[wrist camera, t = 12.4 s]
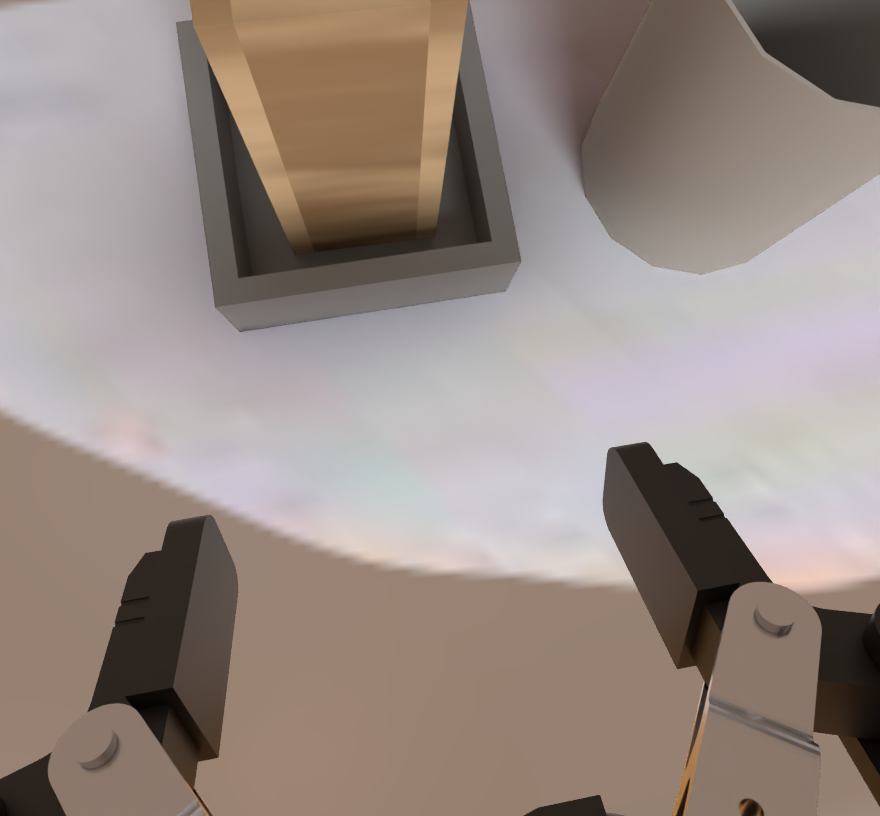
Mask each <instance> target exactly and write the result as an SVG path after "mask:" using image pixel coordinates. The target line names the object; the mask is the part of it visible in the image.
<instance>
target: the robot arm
mask: <svg viewBox="0 0 880 816" xmlns="http://www.w3.org/2000/svg"><path fill="white" fill-rule="evenodd" d="M603 511H604V516H605V520H606V523H607V526H608V529H609V531H610V533H611V535H612V537H613V539H614V541H615V543H616V545H617V547H618V549H619V551H620V553H621V555H622V558H623V560H624V562H625V564H626V566H627V568H628V570H629V572H630V574H631V576H632V578H633V580H634V582H635V584H636V586H637V588H638V590H639V592H640V594H641V596H642V598H643V600H644V602H645V605H646V606H647V609H648V610H649V613H650V614H651V616H652V619H653V621H654V623H655V625H656V627H657V629H658V631H659V633H660V635H661V637H662V639H663V641H664V643H665V645H666V647H667V649H668V651H669V654H670V656H671V658H672V660H673V662H674V664H675V666H676V668H677V669H680V668H686V667H691V666H697V667H698V669H699V671H700V673H701V675H702V677H703V679H704V684H703V687H702V691H701V695H700V700H699V704H698V708H697V713H696V717H695V722H694V726H693V731H692V735H691V739H690V743H689V748H688V752H687V757H686V761H685V765H684V770H683V774H682V779H681V782H680V786H679V790H678V794H677V797H676V801H675V805H674V809H673V813H672V816H817V806H818V792H819V779H820V764H821V755H820V748H819V745H818V744H816V743H814V741H813V732H818V733H825V734H832V735H838V736H839V738H840V740H841V741H842V743H843V745H844V746H845V748H846V749H847V752H848V753H849V755H850V757H851V758H852V760H853V762H854V764H855V765H856V767H857V769H858V770H859V772H860V774H861V776H862V777H863V779H864V781H865V782H866V784H867V786H868V787H869V789H870V791H871V793H872V794H873V796H874V798H875V799H876V801H877V803H878V805H879V806H880V604H879V605H878V607H877V608H876V610H875V612H874V613H873V614H864V613H856V612H855V613H854V612H846V611H837V610H828V609H821V608H817V607H813V606H811V605H810V604H809V603H808V602H807V601H806V600H805V599H804V598H803V597H801V596H800V595H799V594H797V593H796V592H794V591H792V590H790V589H788V588H786V587H783V586H781V585H778V584H774V583H773V582H772V581H771V580H770V579H769V577H768V576H767V575H766V573H765V572H764V570H763V569H762V567H761V566H760V565H759V563H758V562H757V560H756V559H755V557H754V556H753V555H752V553H751V552H750V550H749V549H748V548H747V546H746V545H745V543H744V542H743V540H742V539H741V538H740V536H739V535H738V533H737V532H736V530H735V529H734V528H733V526H732V525H731V523H730V522H729V520H728V519H727V518H725V517H724V513H723V512H722V510H721V509H720V508H719V506H718V505H717V503H716V502H713V498H712V496H711V495H710V493H709V492H708V490H707V489H706V488H705V486H704V485H703V483H702V482H701V480H700V479H699V478H698V477H697V476H695V475H694V474H692V473H691V472H690V471H688V470H687V469H685V468H684V467H683V466H681V465H680V464H678V463H677V462H676V463H671V464H665V465H663V463H662V462H661V460H660V459H659V457H658V456H657V454H656V452H655V451H654V449H653V448H652V447H651V445H650V444H649V443H647V442H642V443H636V444H630V445H624V446H618V447H612V448H610V449H609V450H608V453H607V462H606V472H605V482H604V491H603ZM237 597H238V580H237V573H236V569H235V565H234V562H233V560H232V558H231V555H230V553H229V551H228V549H227V546H226V544H225V542H224V539H223V537H222V535H221V533H220V530H219V528H218V526H217V524H216V522H215V519H214V518H213V517H212V516H211V515H206V516H200V517H194V518H188V519H182V520H177V521H172V522H170V523H169V525H168V527H167V530H166V534H165V538H164V542H163V546H162V550H161V551H155V552H150V553H145V555H144V556H143V557H142V559H141V560H140V561H139V563H138V564H137V566H136V567H135V568H134V570H133V571H132V572H131V574H130V575H129V576H128V579H127V583H126V586H125V589H124V592H123V596H122V599H121V606H120V607H119V609H118V613H117V616H116V620H115V627H114V628H113V630H112V634H111V637H110V640H109V644H108V647H107V650H106V654H105V657H104V661H103V664H102V668H101V671H100V674H99V678H98V681H97V684H96V688H95V691H94V695H93V698H92V702H91V704H90V707H89V710H88V712H87V713H86V714H84V715H83V716H81V717H80V718H79V719H77V720H76V721H75V722H74V723H73V724H72V725H71V726H70V727H69V728H68V729H67V730H66V731H65V732H64V733H63V735H62V736H61V737H60V738H59V740H58V742H57V743H56V745H55V747H54V749H53V751H52V752H51V753H50V754H48V755H47V756H45V757H43V758H41V759H39V760H38V761H36V762H34V763H32V764H30V765H28V766H26V767H24V768H22V769H20V770H18V771H16V772H14V773H12V774H10V775H8V776H6V777H4V778H2V779H0V816H213V814H212V813H211V811H210V810H209V808H208V807H207V805H206V804H205V802H204V801H203V799H202V798H201V796H200V795H199V793H198V792H197V790H196V789H195V788H194V784H195V777H196V770H197V763H198V762H199V761H204V760H209V759H214V758H218V757H219V747H220V739H221V732H222V723H223V714H224V706H225V698H226V690H227V681H228V673H229V664H230V655H231V648H232V639H233V630H234V622H235V614H236V605H237ZM524 816H622V815H618V814H612V813H606V812H605V809H604V806H603V803H602V800H601V797H600V795H596V796H592V797H587V798H583V799H577V800H573V801H568V802H564V803H559V804H554V805H549V806H544V807H540V808H537V809H535V810H533V811H532V812H530V813H528V814H526V815H524Z"/></svg>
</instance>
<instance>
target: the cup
mask: <svg viewBox="0 0 880 816" xmlns="http://www.w3.org/2000/svg"><path fill="white" fill-rule="evenodd" d="M580 150H581V160H582V170H583V180H584V189H585V196H586V198H587V199H588V201H589V203H590V204H591V206H592V208H593V209H594V211H595V213H596V214H597V216H598V217H599V219H600V221H601V222H602V224H603V226H604V227H605V229H606V231H607V232H608V234H609V235H610V237H611V238H612V239H614V240H615V241H616V242H618V243H619V244H621V245H622V246H624V247H625V248H627V249H628V250H630V251H631V252H633V253H634V254H635V255H637V256H638V257H640V258H641V259H643V260H644V261H646V262H647V263H649V264H650V265H652V266H655V267H660V268H666V269H671V270H677V271H683V272H688V273H694V274H700V275H703V274H706V273H710V272H713V271H717V270H720V269H724V268H727V267H731V266H735V265H738V264H742V263H745V262H748V261H749V260H751V259H752V258H754V257H755V256H757V255H758V254H760V253H761V252H763V251H764V250H766V249H767V248H769V247H770V246H772V245H773V244H775V243H776V242H778V241H779V240H781V239H782V238H784V237H785V236H787V235H788V234H790V233H791V232H793V231H794V230H796V229H797V228H799V227H800V226H802V225H803V224H805V223H806V222H808V221H810V220H811V219H813V218H814V217H816V216H817V215H819V214H820V213H822V212H823V211H825V210H826V209H828V208H829V207H831V206H832V205H834V204H835V203H837V202H838V201H840V200H841V199H843V198H844V197H846V196H847V195H849V194H850V193H852V192H853V191H855V190H856V189H858V188H859V187H861V186H862V185H864V184H865V183H867V182H868V181H870V180H871V179H873V178H874V177H876V176H877V175H879V174H880V0H651V2H650V4H649V6H648V8H647V10H646V12H645V14H644V16H643V17H642V19H641V21H640V23H639V25H638V27H637V29H636V31H635V33H634V35H633V37H632V39H631V41H630V43H629V45H628V47H627V49H626V51H625V53H624V55H623V57H622V59H621V61H620V63H619V64H618V66H617V68H616V70H615V72H614V74H613V76H612V78H611V80H610V82H609V84H608V86H607V88H606V90H605V92H604V94H603V96H602V98H601V100H600V102H599V104H598V106H597V108H596V110H595V113H594V115H593V118H592V120H591V123H590V126H589V128H588V131H587V133H586V136H585V138H584V141H583V143H582V146H581V148H580Z"/></svg>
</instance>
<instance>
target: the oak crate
mask: <svg viewBox="0 0 880 816" xmlns="http://www.w3.org/2000/svg"><path fill="white" fill-rule="evenodd" d="M190 2H191V10H192V19H193V27H194V29H195V31H196V33H197V36H198V38H199V40H200V42H201V45H202V47H203V49H204V51H205V54H206V56H207V58H208V60H209V63H210V65H211V67H212V70H213V72H214V74H215V76H216V79H217V81H218V83H219V85H220V88H221V90H222V92H223V94H224V97H225V99H226V101H227V103H228V106H229V108H230V110H231V112H232V115H233V117H234V119H235V122H236V124H237V126H238V128H239V131H240V133H241V135H242V137H243V140H244V142H245V144H246V146H247V149H248V151H249V153H250V155H251V158H252V160H253V162H254V164H255V167H256V169H257V171H258V174H259V176H260V178H261V180H262V183H263V185H264V187H265V189H266V192H267V194H268V196H269V198H270V201H271V203H272V205H273V207H274V210H275V212H276V214H277V216H278V219H279V221H280V223H281V226H282V228H283V230H284V232H285V235H286V237H287V239H288V241H289V244H290V246H291V248H292V250H293V253H294V255H295V254H302V253H310V252H318V251H326V250H334V249H342V248H350V247H358V246H366V245H373V244H381V243H389V242H397V241H405V240H413V239H421V238H429V237H435V236H436V229H437V221H438V214H439V207H440V200H441V193H442V186H443V178H444V171H445V164H446V157H447V150H448V143H449V135H450V128H451V121H452V114H453V107H454V100H455V92H456V85H457V78H458V71H459V64H460V57H461V49H462V42H463V35H464V28H465V21H466V14H467V6H468V0H190Z"/></svg>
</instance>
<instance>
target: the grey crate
mask: <svg viewBox="0 0 880 816" xmlns="http://www.w3.org/2000/svg"><path fill="white" fill-rule="evenodd" d="M176 25H177V32H178V40H179V47H180V54H181V62H182V69H183V76H184V83H185V91H186V98H187V105H188V112H189V120H190V127H191V134H192V141H193V149H194V156H195V163H196V171H197V178H198V185H199V192H200V200H201V207H202V214H203V221H204V229H205V236H206V243H207V250H208V258H209V265H210V272H211V280H212V287H213V294H214V301H215V307H216V308H217V309H218V310H219V311H220V312H221V313H222V314H223V315H224V316H225V317H226V318H227V319H228V320H229V321H230V322H231V323H232V324H233V325H234V326H235V327H236V328H237V329H238V330H239V331H240V332H241V331H248V330H254V329H261V328H268V327H274V326H281V325H287V324H294V323H300V322H307V321H313V320H320V319H326V318H333V317H339V316H346V315H352V314H359V313H366V312H372V311H379V310H385V309H392V308H398V307H405V306H411V305H418V304H424V303H431V302H437V301H444V300H450V299H457V298H463V297H470V296H477V295H483V294H490V293H496V292H503V291H506V290H507V288H508V286H509V284H510V282H511V280H512V278H513V276H514V274H515V272H516V271H517V269H518V267H519V265H520V263H521V258H520V252H519V247H518V242H517V237H516V232H515V227H514V222H513V217H512V212H511V207H510V202H509V197H508V192H507V187H506V182H505V177H504V172H503V167H502V162H501V157H500V152H499V147H498V142H497V137H496V132H495V127H494V122H493V117H492V112H491V107H490V102H489V97H488V92H487V87H486V82H485V77H484V72H483V67H482V62H481V57H480V52H479V47H478V42H477V37H476V32H475V26H474V21H473V16H472V11H471V6H470V1H469V0H468V6H467V14H466V21H465V28H464V35H463V42H462V49H461V57H460V64H459V71H458V78H457V85H456V92H455V100H454V107H453V114H452V121H451V128H450V135H449V143H448V150H447V157H446V164H445V171H444V178H443V186H442V193H441V200H440V207H439V214H438V221H437V229H436V236H435V237H429V238H421V239H413V240H405V241H397V242H389V243H381V244H373V245H366V246H358V247H350V248H342V249H334V250H326V251H318V252H310V253H302V254H295V255H294V253H293V250H292V248H291V246H290V244H289V241H288V239H287V237H286V235H285V232H284V230H283V228H282V226H281V223H280V221H279V219H278V216H277V214H276V212H275V210H274V207H273V205H272V203H271V201H270V198H269V196H268V194H267V192H266V189H265V187H264V185H263V183H262V180H261V178H260V176H259V174H258V171H257V169H256V167H255V164H254V162H253V160H252V158H251V155H250V153H249V151H248V149H247V146H246V144H245V142H244V140H243V137H242V135H241V133H240V131H239V128H238V126H237V124H236V122H235V119H234V117H233V115H232V112H231V110H230V108H229V106H228V103H227V101H226V99H225V97H224V94H223V92H222V90H221V88H220V85H219V83H218V81H217V79H216V76H215V74H214V72H213V70H212V67H211V65H210V63H209V60H208V58H207V56H206V54H205V51H204V49H203V47H202V45H201V42H200V40H199V38H198V36H197V33H196V31H195V29H194V27H193V20H191V21H182V22H176Z"/></svg>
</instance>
